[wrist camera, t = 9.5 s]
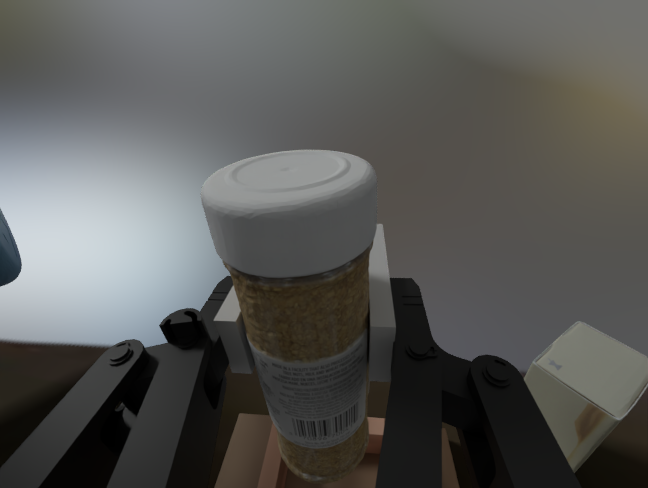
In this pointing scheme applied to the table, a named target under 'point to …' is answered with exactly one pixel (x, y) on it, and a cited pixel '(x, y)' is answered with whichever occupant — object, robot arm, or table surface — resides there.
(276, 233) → the sprinkles bottle
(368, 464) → the collar plate
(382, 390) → the table surface
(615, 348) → the skincare box
